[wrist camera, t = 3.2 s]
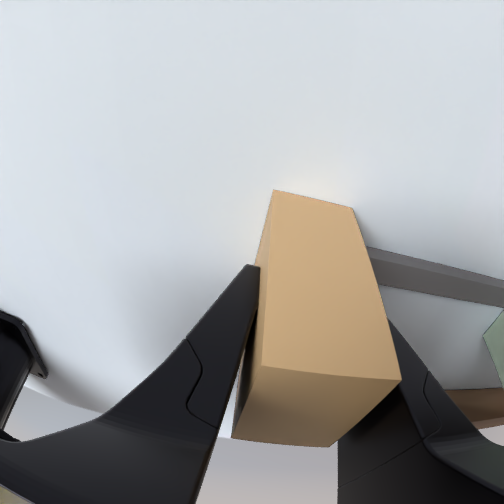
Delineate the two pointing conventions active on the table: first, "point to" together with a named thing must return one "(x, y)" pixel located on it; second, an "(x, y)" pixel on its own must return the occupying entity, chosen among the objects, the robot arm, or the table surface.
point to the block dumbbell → (331, 324)
